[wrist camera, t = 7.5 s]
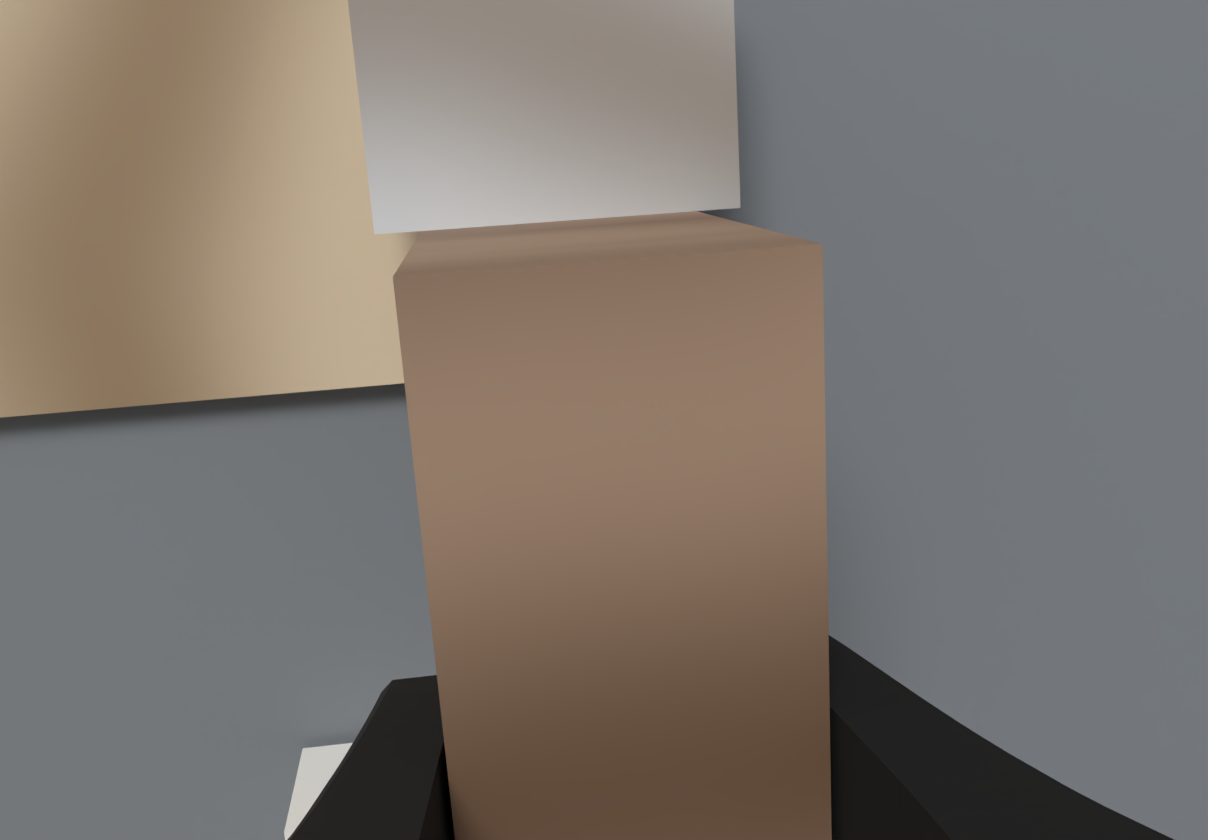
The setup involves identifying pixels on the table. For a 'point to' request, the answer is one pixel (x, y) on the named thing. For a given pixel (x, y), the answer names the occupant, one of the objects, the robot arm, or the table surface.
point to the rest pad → (186, 206)
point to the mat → (853, 448)
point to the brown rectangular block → (604, 421)
